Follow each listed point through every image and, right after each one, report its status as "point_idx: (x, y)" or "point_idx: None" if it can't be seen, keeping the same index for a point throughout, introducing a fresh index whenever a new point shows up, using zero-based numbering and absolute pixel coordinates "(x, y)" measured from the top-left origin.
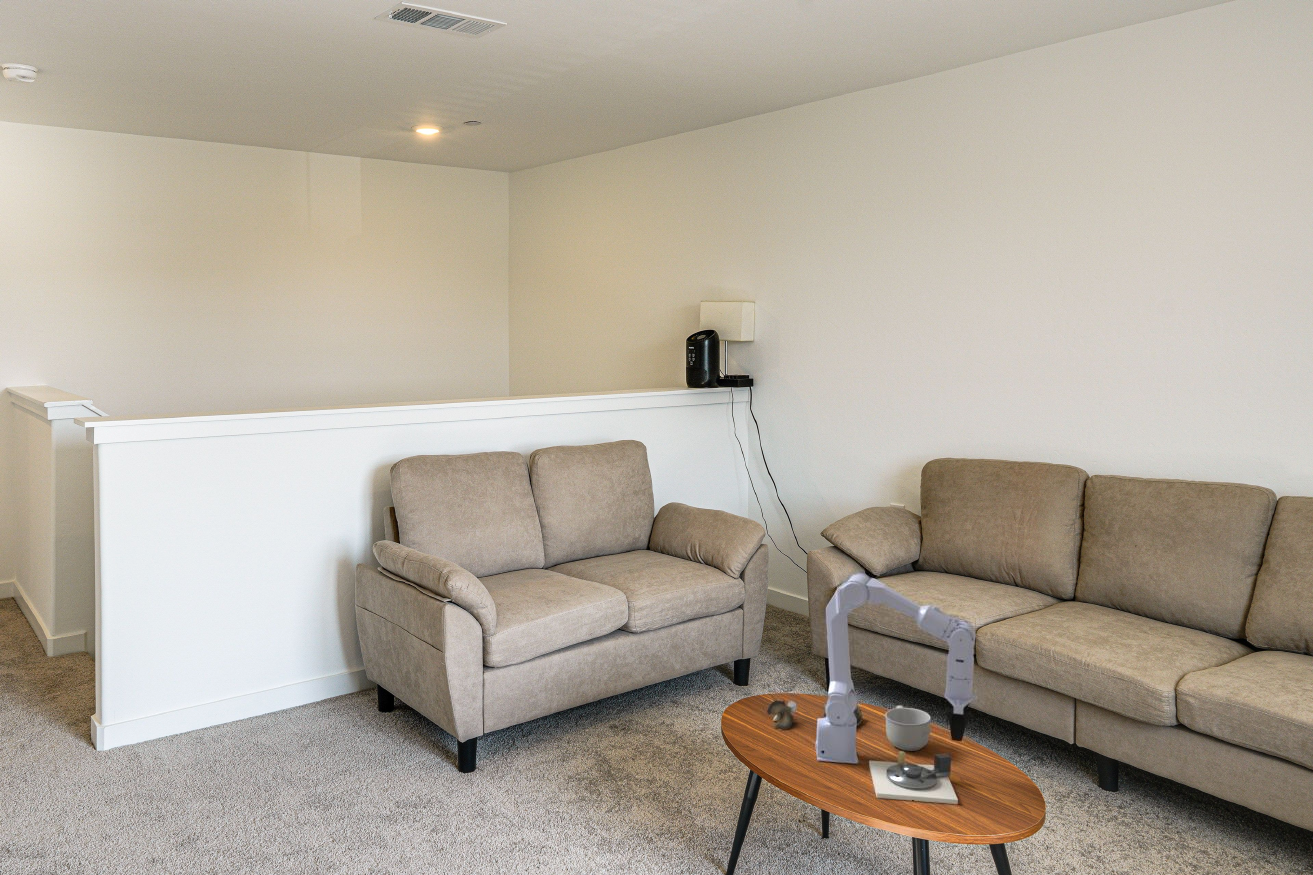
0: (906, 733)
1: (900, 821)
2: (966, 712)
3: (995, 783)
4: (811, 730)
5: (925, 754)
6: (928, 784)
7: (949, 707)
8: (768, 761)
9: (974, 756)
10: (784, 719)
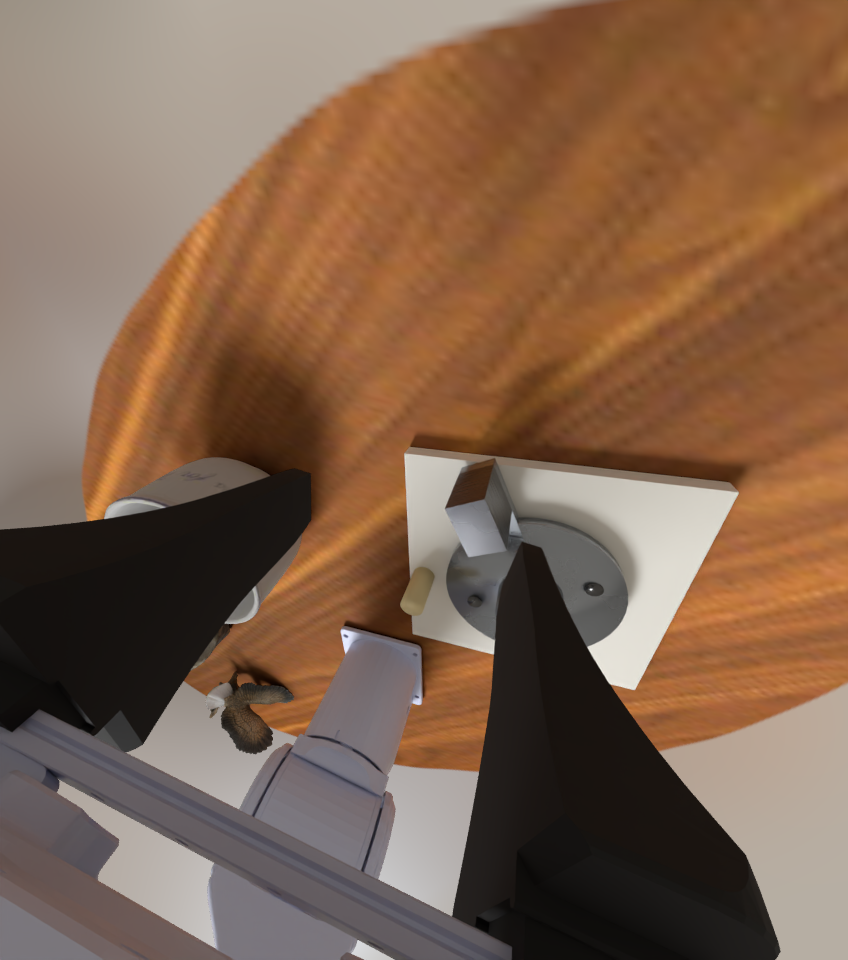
0: (278, 567)
1: (825, 685)
2: (600, 892)
3: (509, 237)
4: (272, 657)
5: (301, 468)
6: (619, 575)
7: (207, 644)
8: (441, 756)
9: (245, 283)
10: (266, 701)
